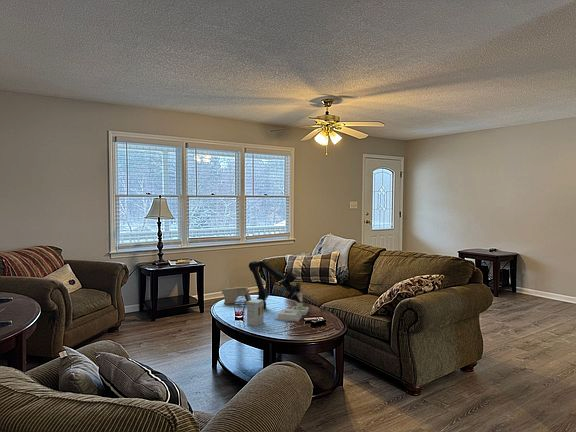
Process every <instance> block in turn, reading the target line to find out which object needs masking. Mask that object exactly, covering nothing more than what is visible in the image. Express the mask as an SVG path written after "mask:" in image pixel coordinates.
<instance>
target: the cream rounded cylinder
mask: <svg viewBox="0 0 576 432" xmlns="http://www.w3.org/2000/svg"><path fill="white" fill-rule="evenodd" d="M297 297H298V299H299V300H300V303H299V302H297V301H296V306H297V307H296V310H303V307H304V306H303V292H300V293H297Z"/></svg>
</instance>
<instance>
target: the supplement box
mask: <svg viewBox="0 0 576 432" xmlns="http://www.w3.org/2000/svg"><path fill="white" fill-rule="evenodd" d="M264 311H265V309H264V300H258V299H257V298H251V300H250V301H247V304H246V325H247V326H248V325H249V326H254V327H259V326H261V325H262V324H264V320H265V317H264V315H265V313H264Z"/></svg>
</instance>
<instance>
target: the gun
mask: <svg viewBox="0 0 576 432" xmlns="http://www.w3.org/2000/svg"><path fill="white" fill-rule="evenodd" d="M250 291H251V290H250V289H249V288H248V287H247V286H238V287H229V288H227V287H226V288H222V289H221V294H222V295H223V296H224V298H223V299H224V301H223V305H231V304H232V305H233V304H244V305H247V301H250V300H252V297H251V294H250V293H249V292H250ZM239 297H243V298H244V299H243V300H238V301H237V299H238V298H239Z"/></svg>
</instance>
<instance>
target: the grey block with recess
mask: <svg viewBox="0 0 576 432" xmlns="http://www.w3.org/2000/svg"><path fill="white" fill-rule="evenodd" d="M291 309H292V308H291ZM291 309H290V308H282V309H281V310H280V311H279V312H278V313H277V316H275V317H274V320H275V321H286V322H287V321H289V322H297V323H298V322H299V321H300V320H301V319H302V317H303V315H300V314H299V310H291Z"/></svg>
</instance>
